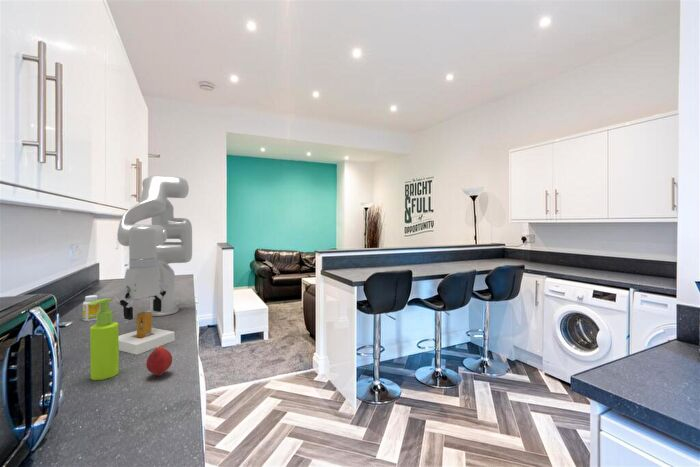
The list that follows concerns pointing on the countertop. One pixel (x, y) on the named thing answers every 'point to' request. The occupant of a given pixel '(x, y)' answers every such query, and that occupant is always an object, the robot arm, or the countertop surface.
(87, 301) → the supplement bottle
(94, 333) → the soap dispenser
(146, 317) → the supplement box
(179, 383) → the countertop surface
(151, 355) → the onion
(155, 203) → the robot arm
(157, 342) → the socket block
